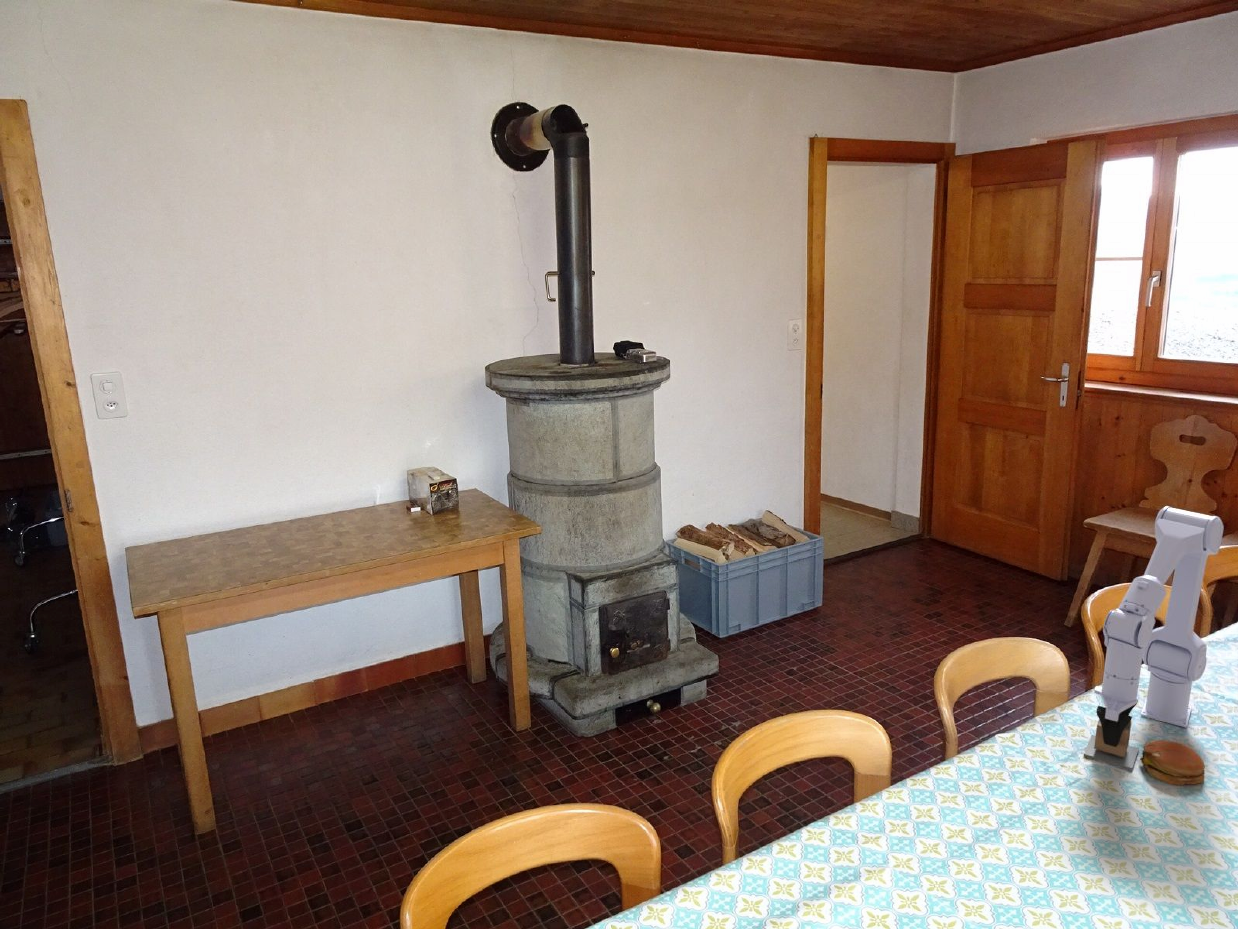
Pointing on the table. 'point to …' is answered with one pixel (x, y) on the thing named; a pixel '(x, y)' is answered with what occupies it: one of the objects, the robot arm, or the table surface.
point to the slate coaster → (1112, 756)
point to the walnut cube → (1118, 750)
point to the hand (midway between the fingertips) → (1113, 737)
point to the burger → (1173, 762)
